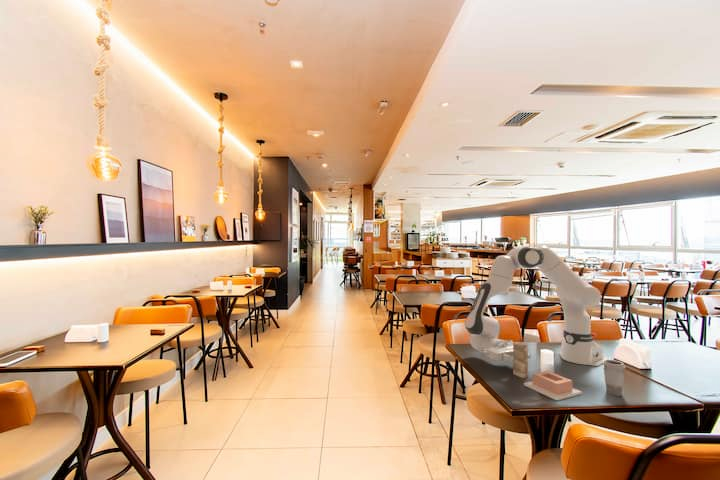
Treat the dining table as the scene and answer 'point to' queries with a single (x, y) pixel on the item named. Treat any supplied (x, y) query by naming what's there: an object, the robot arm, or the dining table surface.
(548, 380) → the pink slotted holder
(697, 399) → the dining table surface
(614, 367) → the cup
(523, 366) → the slat
